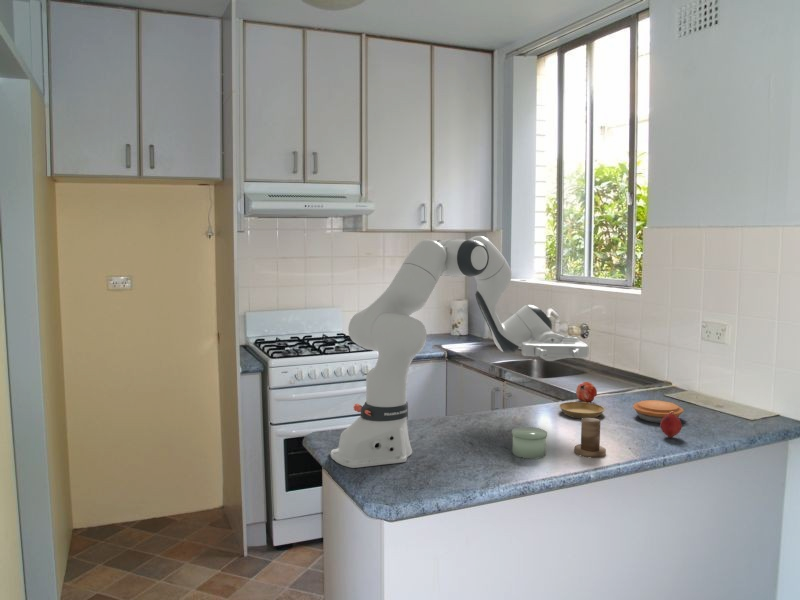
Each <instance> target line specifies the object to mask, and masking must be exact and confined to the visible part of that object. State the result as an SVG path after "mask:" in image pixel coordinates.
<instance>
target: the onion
mask: <svg viewBox="0 0 800 600" xmlns="http://www.w3.org/2000/svg"><path fill="white" fill-rule="evenodd" d="M659 425H660V429H661V431H662V433H663V434H664V435H665V436H667V437H668V438H670V439H671V438H674V437H675V436H677V435H678V434H680V432H681V430H682V428H683V427H682V421H681V419H680V417H677V416H675V415H674V412H673V411H671V412H670V413H669V414H668V415H666V416H665V417H664V418H663V419H662V420H661V423H659Z"/></svg>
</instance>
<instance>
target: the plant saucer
mask: <svg viewBox="0 0 800 600" xmlns="http://www.w3.org/2000/svg"><path fill="white" fill-rule="evenodd" d="M558 407H559V409H560V410H561V411H562V412H563V413H564V414H565V415H566V416H569V417H571V418H575V419H583V418H595V419H597V418H598V417H599V416H601V415H602V414H603V413H604V411H606V410H605V409H606V408H605V407H604V406H603V405H600V404H597V403H593V402H592V403H591V402H590V403H587V402H583V401H567V402H562V403H560V404H559V405H558Z"/></svg>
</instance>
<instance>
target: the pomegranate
mask: <svg viewBox="0 0 800 600" xmlns="http://www.w3.org/2000/svg"><path fill="white" fill-rule="evenodd" d="M597 391H598V390H597V388H596V386H595V385H593V383H592V382H589V381H584V382H582V383H579V384H578V385H577V388H576V391H575V395H576V397H577V399H578V400H579V402H587V403H591V402H592V403H593V401H594V399H595V397H597V396H598V395H597V394H598V392H597Z"/></svg>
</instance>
